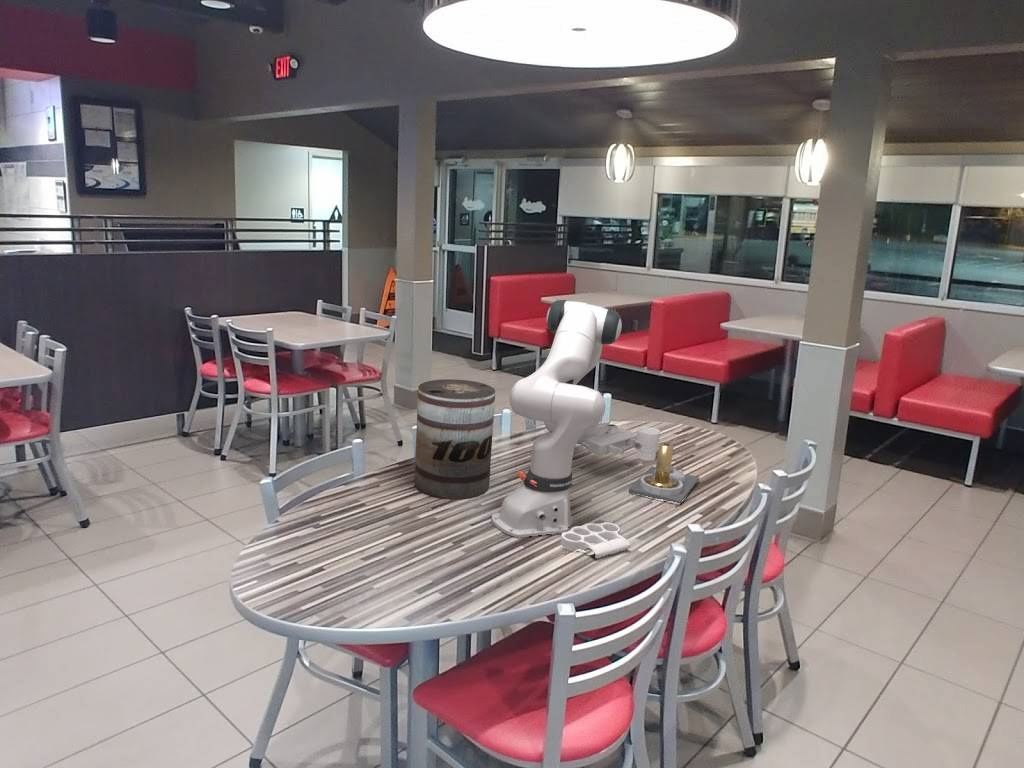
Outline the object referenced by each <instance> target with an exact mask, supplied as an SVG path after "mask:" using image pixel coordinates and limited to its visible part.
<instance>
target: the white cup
mask: <svg viewBox="0 0 1024 768" xmlns="http://www.w3.org/2000/svg"><path fill="white" fill-rule="evenodd" d="M636 434H637V436H638V437H637V441H638V442H639V443H642V448H640V449H636V453H635V454H636V455H635V457H636V458H637V459H638V458H639V459H638V460H640V461H646V462H647V461H648V462H652V461H655V460H656V457H657V453H658V448H659V443H660V436H661V430H659V429H657V428H653V427H649V426H641V427H638V428H637V431H636Z"/></svg>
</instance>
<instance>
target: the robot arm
mask: <svg viewBox="0 0 1024 768" xmlns="http://www.w3.org/2000/svg"><path fill="white" fill-rule="evenodd" d="M621 318H622V317H621V315H620V314H619V312H618V311H616V310H614V309H611V308H604V307H601V306H598V305H593V304H590V303H588V302H582V301H572V300H571V301H568V300H567V299H557V300H555V301H553V302H552V303H551V305H550V306H549V308H548V310H547V314H546V323H547V325H546V326H547V329H548V330H549V331H550V333H552V334H555V335H554V338H553V342H552V345H551V347H550V351H549V352H548V355H547V358H546V359H545V360H544V362H543V364H541V366H539V368H538V369H537V370H535V371H534V372H533V373H532V374H530V375H528V376H527V377H524V378H521V379H518V380H517V381H516V382H515V383H514V385H513V386H512V388H511V389H510V392H509V406H510V408H511V410H512V412H513V413H514V414H515V415H517V416H520V417H523V418H525V419H529V420H532V421H538V422H543V423H544V425H545V428H546V429H547V431H549V432H548V433H545V434H543V435H541V436H538V437H537V438H536V439H535V440H534V441H533V443H532V445H531V447H532V448H531V456H530V457H531V459H530V468H529V469H528V470H527V471H528V472H527V473H525V472H523V471H522V470H519V471H518V472H517V473H516V476H517V478H518V479H520V480H522V481H523V483H521V484H520V485H519V486H518V487H517V488H516V489H514V490H513V491H512V492H511V493H509V494H508V495H507V496H506V497H504V498H503V501H502V502H501V503H502V504H501V507H500V512H496V513H493V514H491V522H492V524H493V525H494V527H496V528H497V529H498V530H500V531H501V532H503V533H504V534H506V535H509V536H510V535H511V537H513V536H514V537H513V538H517V537H521V538H530V537H529V536H532V537H539V536H538V535H542V536H547V535H546V534H552V535H557V534H556V533H563V532H568V531H569V528H570V526H572V524H573V518H572V512H571V498H570V493H571V491H570V490H571V487H572V482H573V472H572V467H573V466H572V464H573V460H574V459H573V458H574V453H575V449H576V446H577V445H581V446H582V447H585V449H586V451H588V452H590V453H593V455H597V456H604V455H606V454H616V455H617V454H618V455H624V454H625V449H627V448H630V447H634V449H636V450H637V449H640V448H642V443H639V442H638V441H637V437H638V436H637V432H633V431H631V430H628V429H625V428H622V427H619V425H617V424H613V423H611V424H609V423H607V424H603V423H600V422H601V421H602V420H603V418H604V416H605V413H606V402H605V399H604V397H603V395H602V394H601V392H600V391H599V390H596V389H593V388H590V387H587V386H584V385H580V384H579V385H578V383H579V382H580V381H581V380H582V379H583V378H584V377H585V376H586V375H587V374H588V373H589V372H591V370H593V369H594V368H595V367H596V366H597V365H598V363H599V361H600V358H601V356H602V350H603V346H604V345H607V346H608V345H613V344H614V343H616V341H617V339H618V338H619V337H620V335H621V332H622V329H623V328H622V327H623V326H622V325H623V324H622V319H621ZM568 527H569V528H568Z"/></svg>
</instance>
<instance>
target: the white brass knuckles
mask: <svg viewBox="0 0 1024 768" xmlns="http://www.w3.org/2000/svg"><path fill="white" fill-rule="evenodd" d="M620 532H621V528H620V526H619V525H617V524H616V523H613V522H607V521H606V522H605V521H604V522H601V523H593V522H591V523H590V522H588V523H584V524H583V525H580V526H579V525H577V526H572V527H571V529H570V530H568V532H563V533H562V534H560V535H561V537H560V544H561V545H562V546H563V547H565V548H567V549H573V550H574V549H575V550H576V549H581V550H584V551H587V550H593V551H594V553H595V556H594V557H595V558H597V559H599V558H602V557H601V556H603V557H605V556H604V555H607V556H609V555H608V554H610V555H613V554H612V553H614V554H616V553H615V552H617V553H620V552H619V551H621V552H623V551H622V550H624V551H626V550H625V549H629V548H630V549H631V544H630V542H629V540H627V539H626V537H624V536H622V535H620ZM606 539H608V540H609V541H607V540H606ZM590 543H595V545H591V544H590ZM630 549H629V550H630Z"/></svg>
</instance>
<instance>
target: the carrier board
mask: <svg viewBox="0 0 1024 768" xmlns="http://www.w3.org/2000/svg"><path fill="white" fill-rule="evenodd" d="M655 472H656V466H651V467H650V468H648V469H647V470H646V471H645V472H644V473H643V474H642V475H641V476H640V477H639V478H638V479H637V480H636V481H635V482H634V483H633V484H632V485H631V486H630V487H629V488H628V492H629V493H634V494H640V495H644V496H648V497H652V498H657V499H663V500H668V501H673V502H677V503H681V502H682V500H683V499H684V498H685V497H686V495H687V494H688V493H689V492H690V490H691V489H692V488H693V487H694V485H695V484H696V483H697V481H698V480H699V481H700V477H699V476H695V475H690V474H687V473H684V471H683V470H678V469H676V468H675V466H674V465H671V470H670V477H669V479H672V480H673V483H676V485H675V488H671V489H670V488H659V487H655V486H651V485H649V484H647V480H648V479H651V477H653V476H654V477H655ZM697 484H698V483H697ZM697 484H696V485H697ZM694 488H695V487H694ZM694 488H693V489H694ZM629 493H628V494H629ZM690 493H691V492H690ZM690 493H689V494H690ZM686 498H687V497H686ZM682 503H683V502H682Z"/></svg>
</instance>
